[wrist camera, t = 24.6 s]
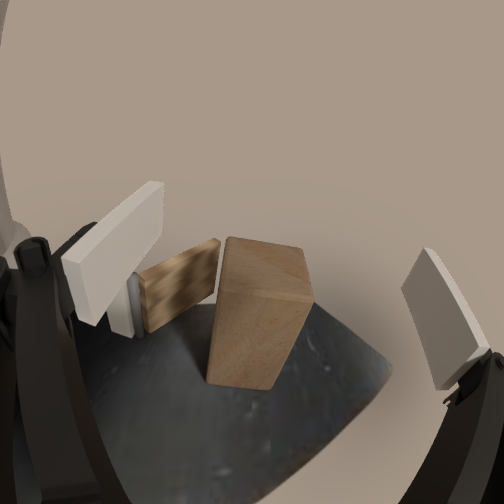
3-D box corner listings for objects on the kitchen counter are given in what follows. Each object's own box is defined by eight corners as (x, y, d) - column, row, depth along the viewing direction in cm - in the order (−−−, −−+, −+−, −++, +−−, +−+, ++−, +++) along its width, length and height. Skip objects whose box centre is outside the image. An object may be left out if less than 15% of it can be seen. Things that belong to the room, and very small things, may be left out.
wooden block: (211, 334, 46) (226, 234, 35) (269, 342, 47) (303, 247, 36) (205, 384, 38) (218, 286, 27) (270, 391, 39) (316, 300, 28)
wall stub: (111, 331, 42) (95, 253, 33) (117, 321, 44) (104, 244, 35) (141, 341, 42) (131, 264, 33) (146, 331, 44) (140, 254, 35)
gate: (149, 333, 44) (144, 279, 37) (139, 323, 45) (133, 269, 38) (213, 292, 55) (221, 241, 49) (203, 285, 56) (209, 234, 50)
